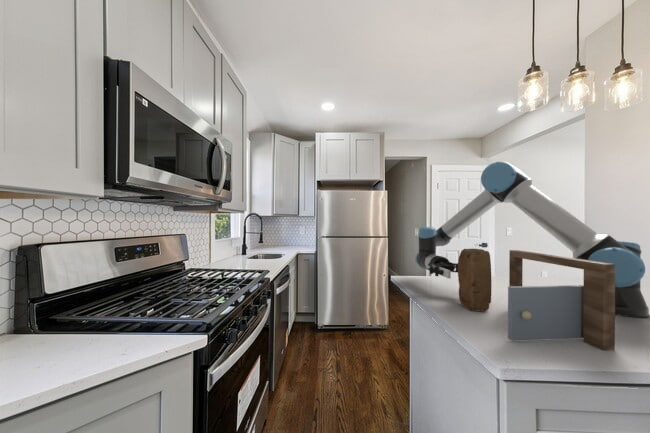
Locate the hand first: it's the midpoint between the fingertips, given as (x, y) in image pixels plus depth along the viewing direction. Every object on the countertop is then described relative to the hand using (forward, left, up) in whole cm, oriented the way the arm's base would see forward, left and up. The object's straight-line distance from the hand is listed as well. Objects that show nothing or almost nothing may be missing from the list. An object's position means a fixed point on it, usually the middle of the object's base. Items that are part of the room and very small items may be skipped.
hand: (468, 274), depth 97 cm
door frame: (-12, +20, -11) cm, 26 cm away
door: (-3, +29, -10) cm, 31 cm away
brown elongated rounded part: (0, +2, -11) cm, 11 cm away
